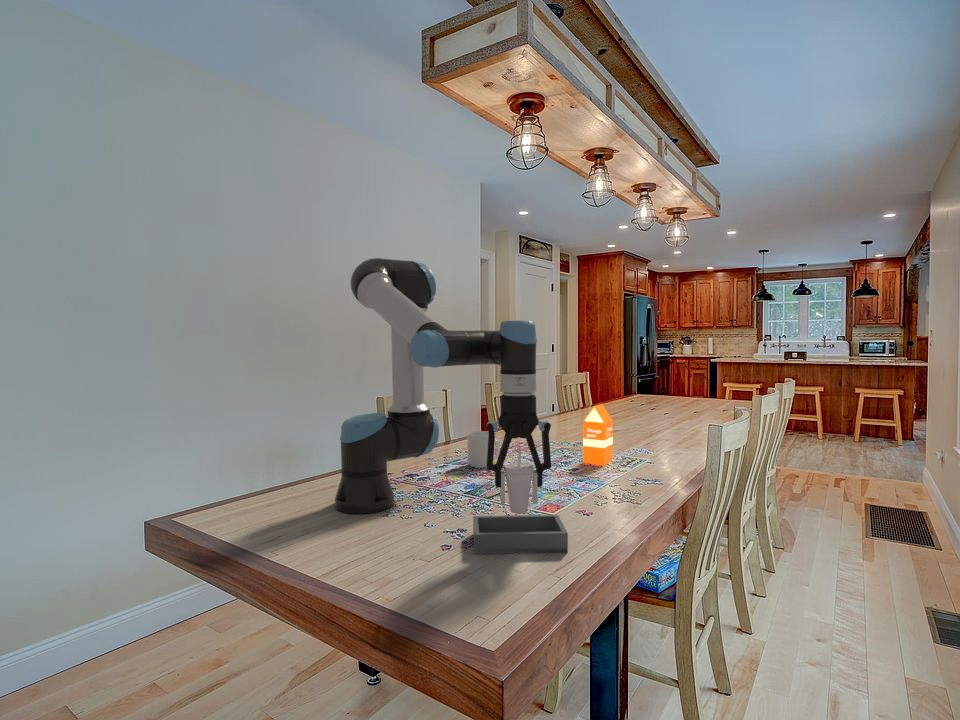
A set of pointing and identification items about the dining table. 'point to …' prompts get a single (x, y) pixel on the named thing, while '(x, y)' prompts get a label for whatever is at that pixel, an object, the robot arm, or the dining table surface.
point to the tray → (519, 534)
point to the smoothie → (518, 484)
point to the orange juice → (597, 436)
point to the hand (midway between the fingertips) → (518, 501)
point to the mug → (479, 448)
